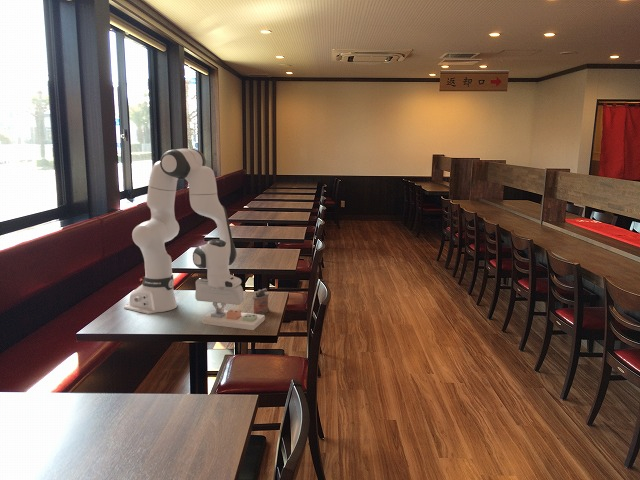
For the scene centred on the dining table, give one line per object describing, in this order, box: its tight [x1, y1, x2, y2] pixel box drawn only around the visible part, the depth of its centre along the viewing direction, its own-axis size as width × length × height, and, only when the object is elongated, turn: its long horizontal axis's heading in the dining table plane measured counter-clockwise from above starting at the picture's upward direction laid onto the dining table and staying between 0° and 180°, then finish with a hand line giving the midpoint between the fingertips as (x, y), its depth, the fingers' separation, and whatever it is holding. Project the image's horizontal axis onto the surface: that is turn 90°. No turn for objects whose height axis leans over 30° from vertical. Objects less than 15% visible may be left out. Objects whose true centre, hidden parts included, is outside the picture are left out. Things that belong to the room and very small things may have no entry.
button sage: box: [243, 313, 257, 322], centre depth 205 cm, size 4×4×3 cm
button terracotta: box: [226, 308, 242, 320], centre depth 206 cm, size 4×4×3 cm
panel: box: [201, 309, 266, 331], centre depth 207 cm, size 22×12×2 cm, turn 74°
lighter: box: [252, 287, 270, 315], centre depth 218 cm, size 8×3×10 cm, turn 143°
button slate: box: [211, 310, 226, 318], centre depth 209 cm, size 4×4×3 cm
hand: (219, 312), depth 209 cm, fingers closed, pressing on button slate
